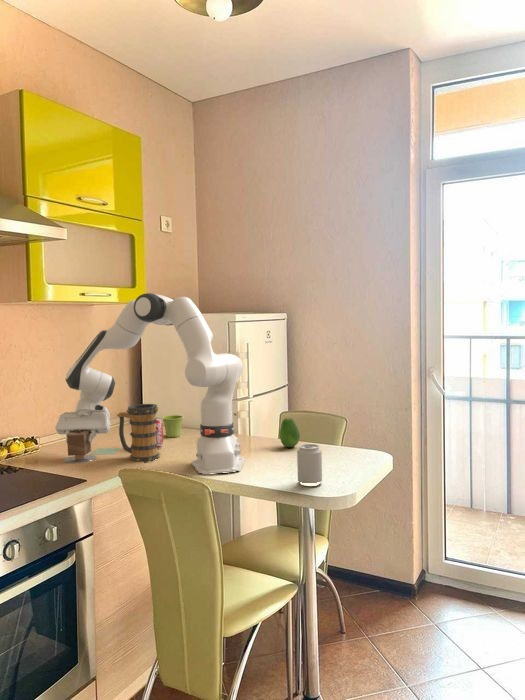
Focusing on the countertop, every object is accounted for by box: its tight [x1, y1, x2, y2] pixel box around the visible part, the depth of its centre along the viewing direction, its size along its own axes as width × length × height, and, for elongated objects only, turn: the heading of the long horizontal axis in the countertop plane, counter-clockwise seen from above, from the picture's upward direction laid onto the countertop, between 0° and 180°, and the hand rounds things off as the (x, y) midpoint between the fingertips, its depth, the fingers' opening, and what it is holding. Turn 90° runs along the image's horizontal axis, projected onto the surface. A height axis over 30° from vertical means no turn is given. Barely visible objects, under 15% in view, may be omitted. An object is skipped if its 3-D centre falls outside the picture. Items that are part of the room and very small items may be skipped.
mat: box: [88, 447, 123, 456], centre depth 221 cm, size 10×10×1 cm
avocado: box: [279, 417, 301, 448], centre depth 219 cm, size 8×8×12 cm
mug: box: [116, 403, 161, 463], centre depth 209 cm, size 13×17×20 cm
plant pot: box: [162, 414, 184, 438], centre depth 248 cm, size 9×9×9 cm
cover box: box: [66, 429, 92, 457], centre depth 210 cm, size 6×6×9 cm
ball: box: [74, 455, 85, 460], centre depth 210 cm, size 3×3×3 cm
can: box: [296, 443, 323, 483], centre depth 170 cm, size 8×8×12 cm
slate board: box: [63, 454, 97, 464], centre depth 210 cm, size 12×12×1 cm
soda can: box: [156, 417, 164, 450], centre depth 225 cm, size 7×7×12 cm
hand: (78, 442), depth 209 cm, fingers closed on cover box, 6 cm apart
